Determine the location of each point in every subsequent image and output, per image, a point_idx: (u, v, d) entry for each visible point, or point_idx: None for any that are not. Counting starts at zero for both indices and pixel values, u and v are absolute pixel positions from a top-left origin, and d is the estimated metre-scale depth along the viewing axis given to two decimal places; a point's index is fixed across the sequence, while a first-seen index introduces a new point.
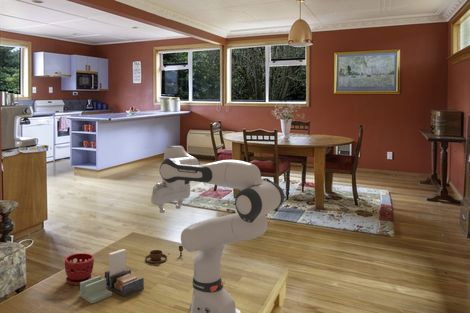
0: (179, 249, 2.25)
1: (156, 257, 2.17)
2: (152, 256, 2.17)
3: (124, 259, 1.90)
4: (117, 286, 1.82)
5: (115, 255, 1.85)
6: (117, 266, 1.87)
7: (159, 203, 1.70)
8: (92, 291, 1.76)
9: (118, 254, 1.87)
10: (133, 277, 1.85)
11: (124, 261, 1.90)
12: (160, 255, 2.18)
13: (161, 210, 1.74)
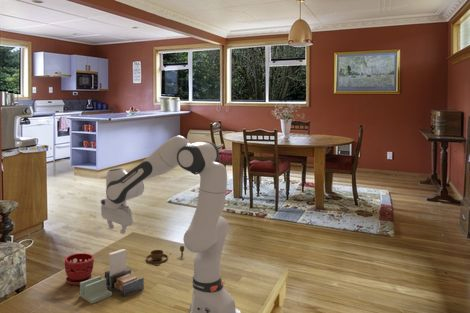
0: (180, 249, 2.25)
1: (157, 257, 2.17)
2: (153, 256, 2.17)
3: (124, 259, 1.90)
4: (117, 286, 1.82)
5: (115, 255, 1.85)
6: (117, 266, 1.87)
7: None
8: (92, 291, 1.76)
9: (118, 254, 1.87)
10: (133, 277, 1.85)
11: (124, 261, 1.90)
12: (161, 255, 2.18)
13: (124, 230, 1.83)
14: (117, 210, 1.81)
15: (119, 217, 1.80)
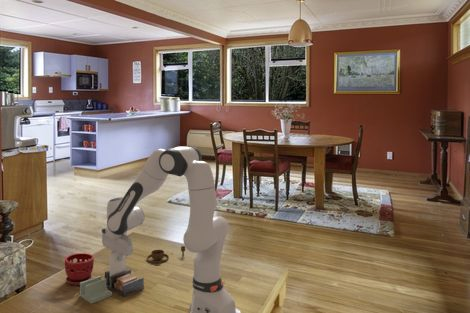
0: (181, 249, 2.25)
1: (157, 257, 2.17)
2: (153, 256, 2.17)
3: (124, 259, 1.90)
4: (117, 286, 1.82)
5: (115, 255, 1.85)
6: (117, 266, 1.87)
7: None
8: (92, 291, 1.76)
9: (118, 254, 1.87)
10: (133, 277, 1.85)
11: (124, 261, 1.90)
12: (161, 255, 2.18)
13: (121, 258, 1.86)
14: (118, 239, 1.83)
15: (120, 246, 1.82)
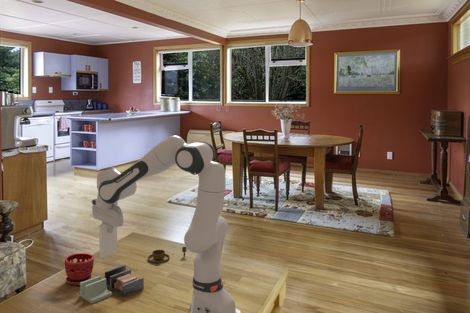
0: (182, 250, 2.24)
1: (158, 257, 2.17)
2: (154, 256, 2.18)
3: (115, 232, 1.84)
4: (117, 286, 1.82)
5: (105, 227, 1.80)
6: (108, 238, 1.82)
7: None
8: (92, 291, 1.76)
9: None
10: (133, 277, 1.85)
11: (115, 234, 1.84)
12: (162, 255, 2.18)
13: (111, 230, 1.81)
14: (108, 210, 1.77)
15: (110, 217, 1.77)
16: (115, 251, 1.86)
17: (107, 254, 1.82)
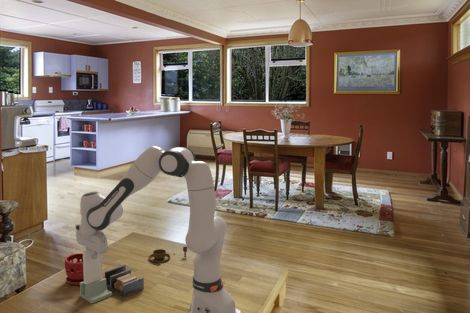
0: (183, 250, 2.24)
1: (158, 256, 2.18)
2: (155, 255, 2.18)
3: (100, 258, 1.79)
4: (117, 286, 1.82)
5: (89, 253, 1.75)
6: (92, 264, 1.77)
7: None
8: (92, 291, 1.76)
9: (93, 252, 1.76)
10: (133, 277, 1.85)
11: (99, 259, 1.79)
12: (163, 255, 2.19)
13: (95, 256, 1.76)
14: (92, 236, 1.72)
15: (94, 244, 1.72)
16: (100, 277, 1.80)
17: (91, 281, 1.77)
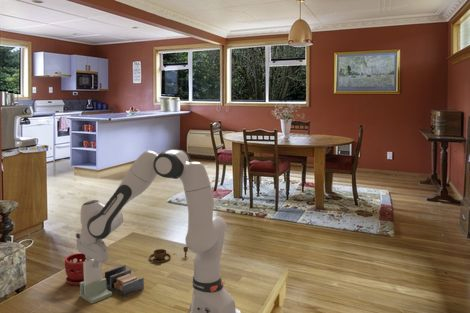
0: None
1: (159, 256, 2.18)
2: (155, 255, 2.18)
3: (100, 268, 1.80)
4: (117, 286, 1.82)
5: (90, 263, 1.76)
6: (93, 275, 1.77)
7: None
8: (92, 291, 1.76)
9: (93, 262, 1.77)
10: (133, 277, 1.85)
11: (100, 270, 1.80)
12: (163, 255, 2.19)
13: (97, 265, 1.76)
14: (92, 245, 1.73)
15: (94, 252, 1.72)
16: None
17: None
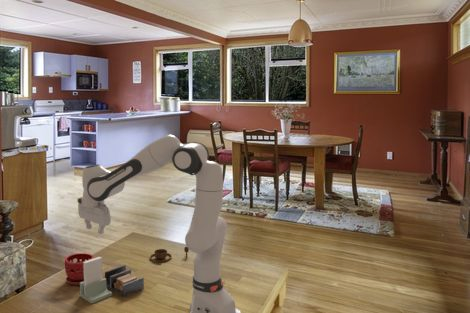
0: (184, 250, 2.24)
1: (159, 256, 2.18)
2: (156, 255, 2.19)
3: (100, 268, 1.80)
4: (117, 286, 1.82)
5: (90, 263, 1.76)
6: (93, 275, 1.77)
7: None
8: (92, 291, 1.76)
9: (93, 262, 1.77)
10: (133, 277, 1.85)
11: (100, 270, 1.80)
12: (164, 254, 2.19)
13: (102, 230, 1.74)
14: (94, 209, 1.72)
15: (96, 216, 1.71)
16: None
17: None
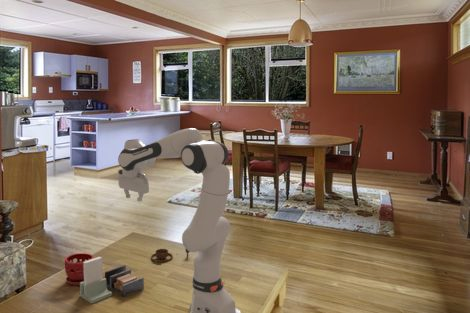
0: None
1: (160, 256, 2.18)
2: (157, 254, 2.19)
3: (100, 268, 1.80)
4: (117, 286, 1.82)
5: (90, 263, 1.76)
6: (93, 275, 1.77)
7: None
8: (92, 291, 1.76)
9: (93, 262, 1.77)
10: (133, 277, 1.85)
11: (100, 270, 1.80)
12: (164, 254, 2.19)
13: (141, 198, 1.92)
14: (134, 179, 1.90)
15: (136, 185, 1.90)
16: None
17: None
